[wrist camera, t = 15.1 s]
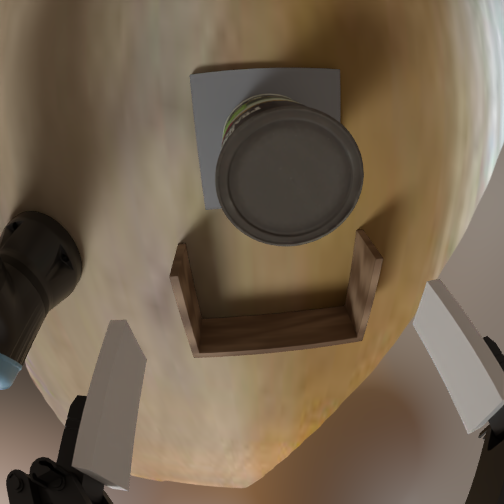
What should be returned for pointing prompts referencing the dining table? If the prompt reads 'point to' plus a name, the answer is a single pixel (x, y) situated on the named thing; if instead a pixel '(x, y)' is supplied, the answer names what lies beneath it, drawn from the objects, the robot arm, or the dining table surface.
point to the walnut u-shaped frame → (280, 314)
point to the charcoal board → (241, 88)
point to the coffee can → (286, 171)
